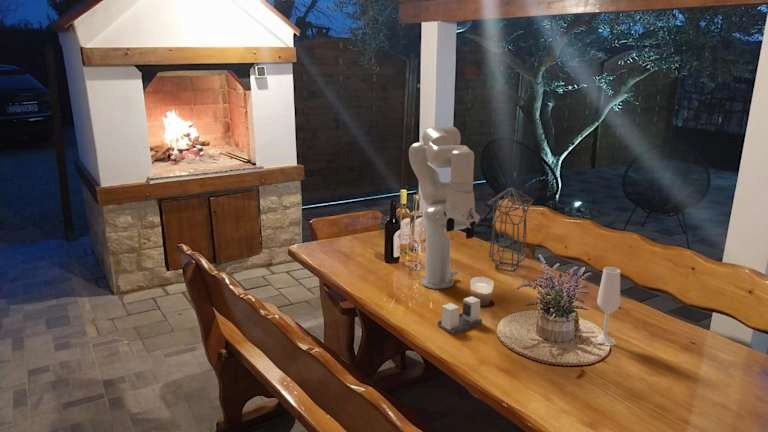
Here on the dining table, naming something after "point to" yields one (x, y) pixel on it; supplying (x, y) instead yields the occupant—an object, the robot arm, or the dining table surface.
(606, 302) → the champagne flute
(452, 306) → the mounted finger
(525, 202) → the geometric lantern
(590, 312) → the dining table surface
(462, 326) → the grey slab
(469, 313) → the white rectangular block
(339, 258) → the dining table surface
